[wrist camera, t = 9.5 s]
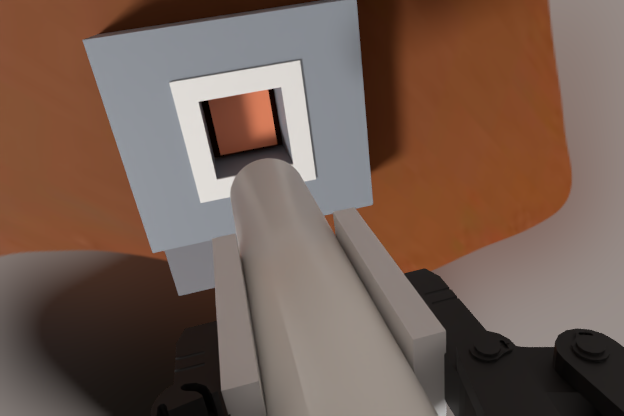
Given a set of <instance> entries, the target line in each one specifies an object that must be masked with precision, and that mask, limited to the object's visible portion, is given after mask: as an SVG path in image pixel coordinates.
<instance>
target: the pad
mask: <svg viewBox="0 0 624 416" xmlns="http://www.w3.org/2000/svg"><path fill="white" fill-rule="evenodd" d="M236 239H237V235H236ZM237 243H238V242H237ZM165 253H166V257H167V260H168V263H169V266H170V269H171V272H172V276H173V279H174V282H175V285H176V288H177V292H178V295H179V296H180V295H185V294H189V293H193V292H198V291H202V290H206V289H210V288H215V278H214V261H213V245H212V240H210V241H205V242H201V243H196V244H192V245H187V246H182V247H178V248H173V249H169V250H165Z"/></svg>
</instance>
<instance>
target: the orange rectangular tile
mask: <svg viewBox="0 0 624 416" xmlns="http://www.w3.org/2000/svg"><path fill="white" fill-rule="evenodd" d="M208 102H209V107H210V111H211V115H212V120H213V124H214V128H215V133H216V137H217V142H218V146H219V150H220V155H224V154H230V153H235V152H240V151H245V150H250V149H255V148H261V147H266V146H271V145H276V144H277V139H276V133H275V127H274V121H273V115H272V110H271V104H270V98H269V92H268V90H262V91H257V92H251V93H245V94H240V95H234V96H228V97H223V98H217V99H211V100H208Z"/></svg>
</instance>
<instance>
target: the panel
mask: <svg viewBox="0 0 624 416" xmlns="http://www.w3.org/2000/svg"><path fill="white" fill-rule="evenodd" d="M83 43H84V46H85V49H86V52H87V55H88V58H89V61H90V64H91V67H92V70H93V73H94V76H95V79H96V82H97V85H98V88H99V91H100V94H101V98H102V101H103V104H104V107H105V110H106V113H107V116H108V119H109V122H110V125H111V128H112V131H113V134H114V137H115V140H116V143H117V146H118V149H119V152H120V155H121V158H122V161H123V164H124V167H125V170H126V173H127V177H128V180H129V183H130V186H131V189H132V192H133V195H134V198H135V201H136V204H137V207H138V210H139V213H140V216H141V219H142V222H143V225H144V228H145V231H146V234H147V237H148V240H149V243H150V246H151V249H152V252H153V253H155V252H160V251H164V250H169V249H173V248H178V247H182V246H187V245H192V244H196V243H201V242H205V241H210V240H212V238H217V237H222V236H226V235H231V234H235V235H236V229H235V223H234V217H233V211H232V205H231V198H230V191H231V186H232V183H233V181H234V179H235V177H236V175H237V174H238V173H239V171H240V170H241V169H243V168H244V167H245V166H246V165H248V164H250V163H251V162H254V161H256V160H260V159H265V158H274V159H279V160H282V161H285V162H287V163H289V164H290V165H292V166H293V167H294V168H295V169H296V170H297V171H298V172H299V174H300V175H301V177H302V179H303V180H304V182H305V184H306V186H307V187H308V189H309V191H310V193H311V194H312V196H313V198H314V200H315V201H316V203H317V205H318V207H319V208H320V210H321V212H322V214H323V215H328V214H333V212H335V211H339V210H344V209H348V208H353V207H355V209H356V208H360V207H365V206H369V205H373V198H372V186H371V173H370V161H369V148H368V136H367V123H366V110H365V98H364V85H363V73H362V60H361V48H360V35H359V23H358V10H357V0H321V1H314V2H308V3H301V4H295V5H288V6H281V7H275V8H268V9H261V10H255V11H248V12H242V13H235V14H228V15H222V16H215V17H209V18H202V19H195V20H189V21H182V22H176V23H169V24H162V25H156V26H149V27H143V28H136V29H129V30H123V31H116V32H110V33H103V34H97V35H95V36H92V37H89V38H87V39H84V40H83ZM268 89H273V91H274V97H275V103H276V109H277V115H278V121H279V127H280V133H281V139H282V145H278V146H273V147H268V148H263V149H258V150H252V151H247V152H242V153H237V154H232V155H227V156H222V157H216V158H215V157H214V153H213V148H212V144H211V140H210V136H209V131H208V127H207V123H206V119H205V114H204V110H203V106H202V102H201V101H206V100H211V99H217V98H223V97H228V96H234V95H240V94H245V93H251V92H257V91H262V90H268Z"/></svg>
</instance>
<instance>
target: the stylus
mask: <svg viewBox="0 0 624 416" xmlns="http://www.w3.org/2000/svg"><path fill="white" fill-rule="evenodd" d="M230 198H231V205H232V211H233V217H234V223H235V229H236V235H237V242H238V248H239V252H240V256H241V261H242V267H243V273H244V279H245V285H246V291H247V297H248V303H249V309H250V315H251V321H252V327H253V333H254V339H255V345H256V351H257V358H258V364H259V370H260V376H261V382H262V388H263V394H264V400H265V406H266V412H267V416H439V415H438V414H437V412H436V410H435V408H434V407H433V405H432V403H431V401H430V400H429V398H428V396H427V394H426V393H425V391H424V389H423V387H422V386H421V384H420V382H419V380H418V379H417V377H416V375H415V374H414V372H413V370H412V368H411V367H410V365H409V363H408V361H407V360H406V358H405V356H404V354H403V353H402V351H401V349H400V347H399V346H398V344H397V342H396V340H395V339H394V337H393V335H392V334H391V332H390V330H389V328H388V327H387V325H386V323H385V321H384V320H383V318H382V316H381V314H380V313H379V311H378V309H377V307H376V306H375V304H374V302H373V300H372V299H371V297H370V295H369V294H368V292H367V290H366V288H365V287H364V285H363V283H362V281H361V280H360V278H359V276H358V274H357V273H356V271H355V269H354V267H353V266H352V264H351V262H350V260H349V259H348V257H347V255H346V254H345V252H344V250H343V248H342V247H341V245H340V243H339V241H338V240H337V238H336V236H335V234H334V233H333V231H332V229H331V227H330V226H329V224H328V222H327V220H326V219H325V217H324V215H323V214H322V212H321V210H320V208H319V207H318V205H317V203H316V201H315V200H314V198H313V196H312V194H311V193H310V191H309V189H308V187H307V186H306V184H305V182H304V180H303V179H302V177H301V175H300V174H299V172H298V171H297V170H296V169H295V168H294V167H293V166H292V165H290V164H289V163H287V162H285V161H282V160H279V159H274V158H265V159H260V160H256V161H254V162H251V163H250V164H248V165H246V166H245V167H244V168H243V169H241V170H240V171H239V173H238V174H237V175H236V177H235V179H234V181H233V183H232V186H231V191H230Z"/></svg>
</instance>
